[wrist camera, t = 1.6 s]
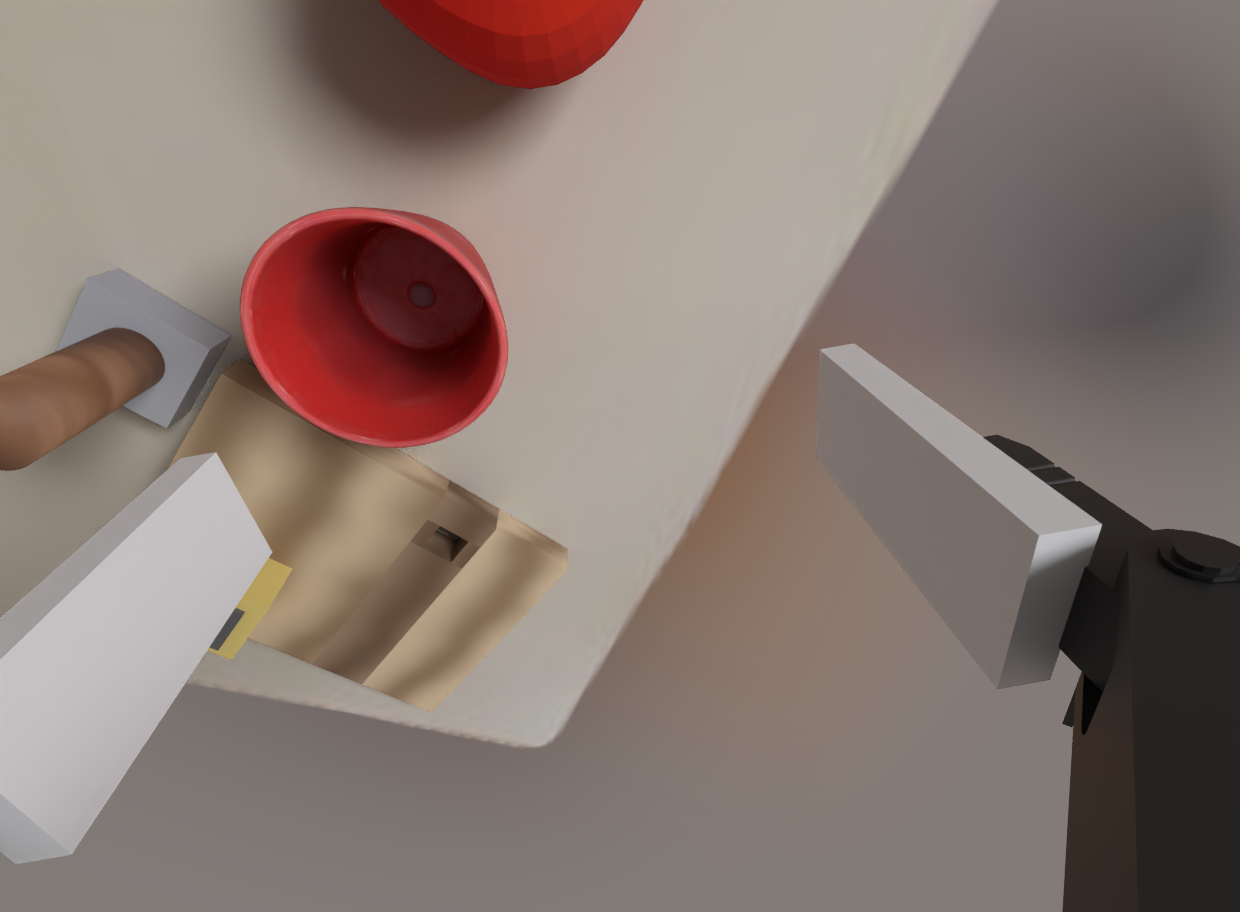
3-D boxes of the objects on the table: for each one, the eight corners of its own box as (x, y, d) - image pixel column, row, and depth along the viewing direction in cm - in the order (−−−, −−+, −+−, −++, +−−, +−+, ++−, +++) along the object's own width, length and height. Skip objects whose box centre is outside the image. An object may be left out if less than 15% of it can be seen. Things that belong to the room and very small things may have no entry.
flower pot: (476, 404, 37) (453, 484, 29) (297, 325, 34) (211, 390, 25) (550, 250, 33) (548, 292, 25) (355, 143, 30) (275, 150, 21)
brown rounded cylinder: (110, 350, 33) (-74, 441, 24) (133, 303, 32) (-51, 378, 22) (173, 384, 35) (23, 484, 25) (197, 340, 34) (49, 427, 24)
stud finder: (135, 562, 38) (89, 609, 34) (166, 510, 36) (121, 554, 32) (259, 614, 41) (229, 663, 37) (292, 568, 39) (264, 615, 35)
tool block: (80, 352, 33) (48, 367, 31) (118, 268, 31) (87, 278, 29) (189, 411, 36) (166, 428, 34) (231, 335, 34) (210, 349, 32)
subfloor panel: (128, 556, 40) (104, 579, 38) (241, 358, 34) (221, 373, 32) (436, 687, 49) (431, 712, 47) (567, 548, 43) (567, 570, 41)
